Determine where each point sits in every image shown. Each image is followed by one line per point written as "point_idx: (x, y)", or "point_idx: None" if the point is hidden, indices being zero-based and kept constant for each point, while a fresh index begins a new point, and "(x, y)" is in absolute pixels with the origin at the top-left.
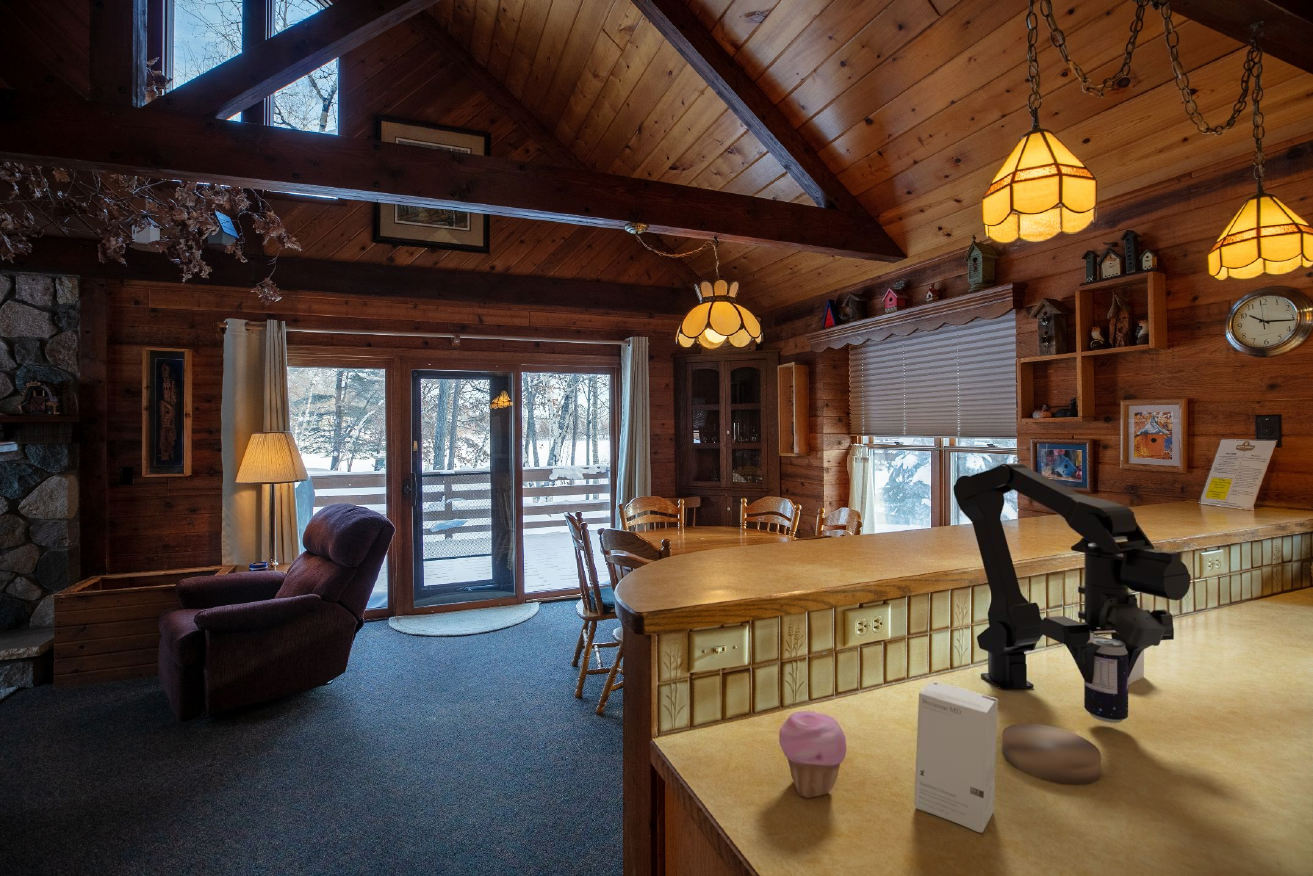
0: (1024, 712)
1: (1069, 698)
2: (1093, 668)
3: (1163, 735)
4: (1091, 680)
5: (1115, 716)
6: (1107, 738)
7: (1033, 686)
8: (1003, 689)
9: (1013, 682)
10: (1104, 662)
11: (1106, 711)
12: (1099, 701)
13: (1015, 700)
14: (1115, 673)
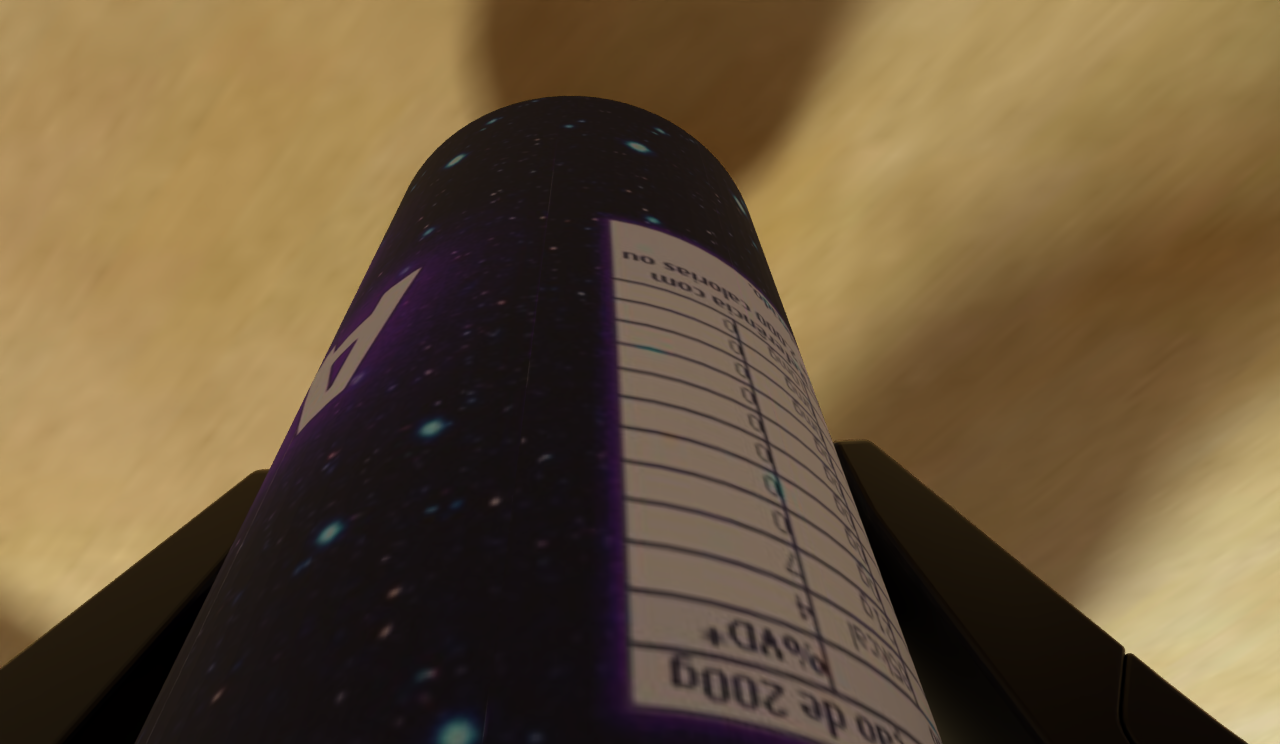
0: (996, 458)
1: None
2: (939, 605)
3: (146, 14)
4: (866, 465)
5: (621, 114)
6: (731, 15)
7: None
8: None
9: None
10: (874, 677)
11: (703, 166)
12: (759, 256)
13: None
14: (654, 422)
